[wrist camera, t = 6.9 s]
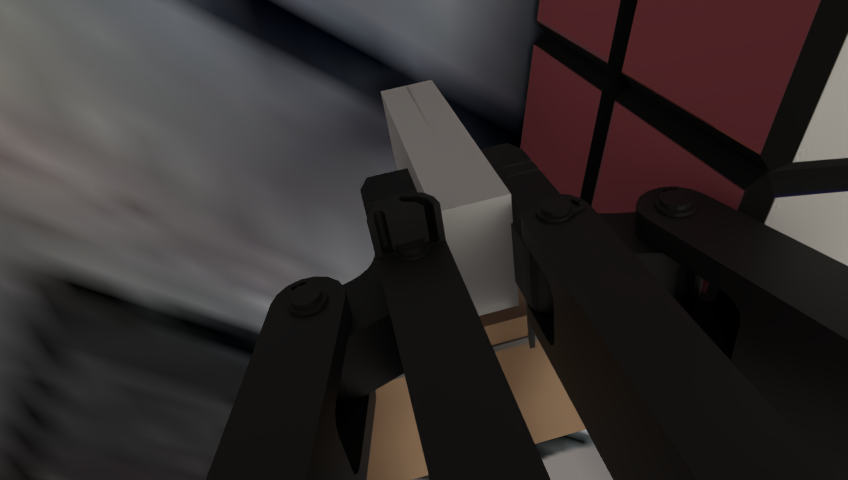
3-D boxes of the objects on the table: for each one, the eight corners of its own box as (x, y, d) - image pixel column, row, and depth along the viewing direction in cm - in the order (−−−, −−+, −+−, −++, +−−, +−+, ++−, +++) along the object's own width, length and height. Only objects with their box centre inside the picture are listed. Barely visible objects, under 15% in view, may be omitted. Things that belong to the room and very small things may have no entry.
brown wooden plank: (348, 457, 26) (353, 499, 24) (301, 336, 22) (303, 377, 20) (848, 315, 28) (885, 344, 27) (902, 179, 24) (950, 203, 22)
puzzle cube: (511, 178, 20) (676, 399, 12) (556, -177, 14) (932, -234, 6) (757, 159, 22) (1047, 337, 13) (882, -160, 16) (1502, -187, 8)
